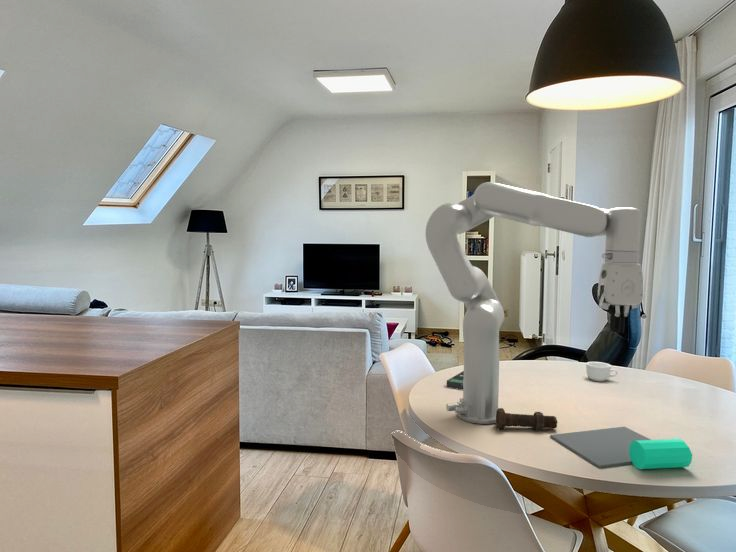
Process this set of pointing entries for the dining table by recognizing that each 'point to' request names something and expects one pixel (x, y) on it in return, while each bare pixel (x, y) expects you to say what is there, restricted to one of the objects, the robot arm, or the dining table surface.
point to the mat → (601, 445)
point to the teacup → (599, 371)
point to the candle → (660, 454)
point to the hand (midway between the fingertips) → (617, 331)
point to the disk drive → (456, 381)
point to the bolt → (524, 420)
